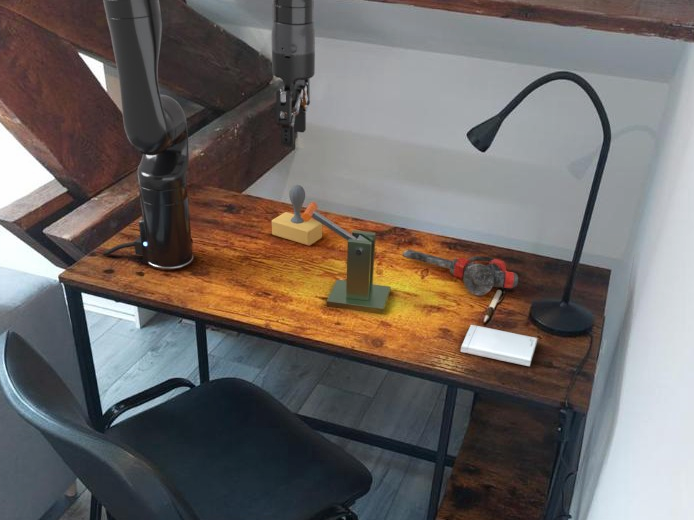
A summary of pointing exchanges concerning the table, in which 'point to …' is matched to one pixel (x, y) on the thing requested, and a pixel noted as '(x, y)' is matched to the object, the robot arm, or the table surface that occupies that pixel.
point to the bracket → (360, 279)
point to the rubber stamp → (297, 222)
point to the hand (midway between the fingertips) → (293, 138)
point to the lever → (328, 223)
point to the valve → (472, 271)
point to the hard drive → (499, 345)
